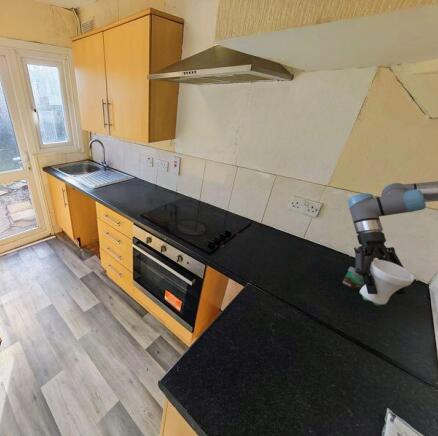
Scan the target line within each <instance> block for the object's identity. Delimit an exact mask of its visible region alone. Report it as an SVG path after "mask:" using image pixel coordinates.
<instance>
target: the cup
mask: <svg viewBox="0 0 438 436" xmlns="http://www.w3.org/2000/svg"><path fill="white" fill-rule="evenodd" d="M403 267H404V266H403ZM403 267H401V266H399V265H397V264H394V263H391V262H388V261H384V260H379V259H374V260H373V262H371V266H370V275H373V278H374V282H375V286H376V289H377V293H378V294H368V292H367V288H366V284H365V285H364V286H363V287H362V288H361V290H359V294H360V295H361V296H362V298H363V300H364V301H367V302H372V304H373V305H375V306H382V305H386V304H387V303H388V302H389V301H390V298H391V296H393V294H395V292H396V291H397V290H399V289H401V288H402V287H404V288H405V287H408V286H410V285H411V284H412V283H413V282H414V281H415V279H416V278H415V275H414V274H413V273H412V272H411V271H409V270H408V269H406V268H405V267H404V268H403Z"/></svg>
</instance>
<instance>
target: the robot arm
mask: <svg viewBox="0 0 438 436" xmlns="http://www.w3.org/2000/svg"><path fill="white" fill-rule="evenodd" d="M347 202H348V208H349V212H350V215H351V219H352V223H353V226H354V230H355V233H356V234H357V235H356V238H357V241H358V244H359V245H360V246H354V247H353V251H354V254H355V256H354V257H355V258H354V267H355V272H356V273H358V274H359V275H362V277H363V281H364V284H366V288H367V292H368V294H378V293H377V289H376V286H375V282H374V278H373V275H370V266H371V262H373V260H376V259H377V260H384V261H388V262H391V263H394V264H397V265H399V266H401V267H403V268H405V267H404V265H403V264H402V262H401V260H400V259H399V257H398V255H397V253H396V249H395V247H394V246H391V247H387V246H386V245H385V243H386V242H387V238H386V235H385V232H383V231H384V228H383V225H382V222H381V220H380V217H385V216H391V215H392V216H393V215H400V214H405V213H413V212H419V211H422V210H425V209H426V207H427V203H429V202H430V203H431V202H438V180H435V181H425V182H415V183H414V182H413V183H401V182H392V183H389V184H387V185H385V186H384V187H383V189H382V191H381V195H380V196H376V197H374V196H373V194H371V193H366V192H365V193H359V194H355V195H352V196H350V197H349V198H348V201H347ZM394 294H395V295H400V296H402V295H403V296H405V295H407V291H406V289H405V287H402V288H401V289H399V290H397V291H396V292H394Z"/></svg>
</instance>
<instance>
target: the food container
mask: <svg viewBox="0 0 438 436" xmlns="http://www.w3.org/2000/svg"><path fill="white" fill-rule="evenodd" d="M341 284H342V285H344V286H346V287H348V288H350V289H351V290H356V291H360V290H361V288H362V287H363V286H364V285H365V284H364V281H363V277H362V275H359V274H358V273H356V272H355V266H354V267H353V266H350V267H349V268H347V272H346V274H345V276H344V278H343V281H342V282H341Z"/></svg>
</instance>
